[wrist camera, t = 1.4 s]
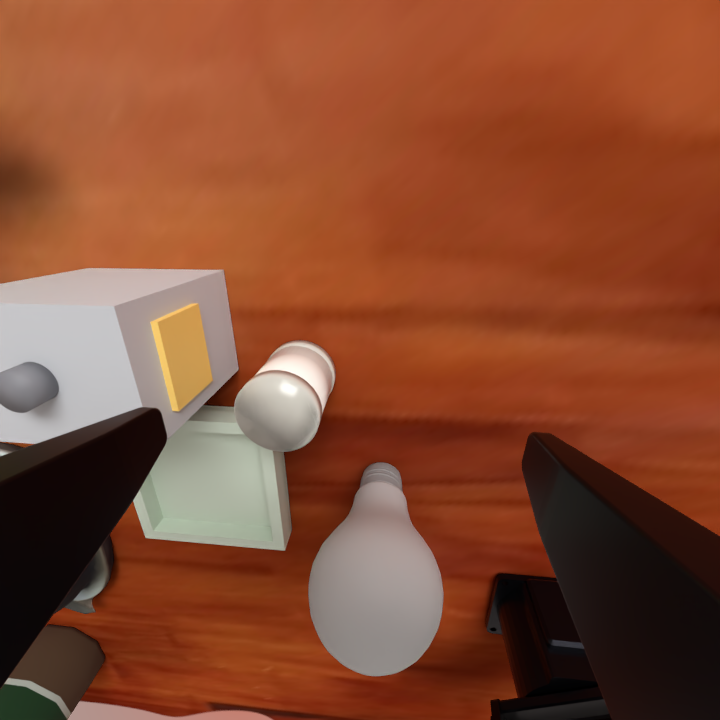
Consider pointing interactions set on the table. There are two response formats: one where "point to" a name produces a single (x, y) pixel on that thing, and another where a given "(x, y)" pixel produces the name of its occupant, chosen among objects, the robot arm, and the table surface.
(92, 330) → the box
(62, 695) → the beer bottle
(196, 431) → the tray
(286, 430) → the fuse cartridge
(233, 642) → the table surface
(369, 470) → the lightbulb
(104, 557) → the salad plate
